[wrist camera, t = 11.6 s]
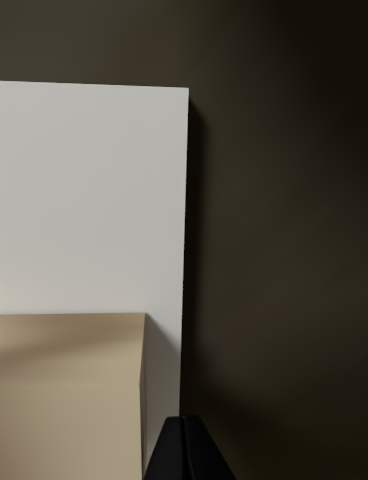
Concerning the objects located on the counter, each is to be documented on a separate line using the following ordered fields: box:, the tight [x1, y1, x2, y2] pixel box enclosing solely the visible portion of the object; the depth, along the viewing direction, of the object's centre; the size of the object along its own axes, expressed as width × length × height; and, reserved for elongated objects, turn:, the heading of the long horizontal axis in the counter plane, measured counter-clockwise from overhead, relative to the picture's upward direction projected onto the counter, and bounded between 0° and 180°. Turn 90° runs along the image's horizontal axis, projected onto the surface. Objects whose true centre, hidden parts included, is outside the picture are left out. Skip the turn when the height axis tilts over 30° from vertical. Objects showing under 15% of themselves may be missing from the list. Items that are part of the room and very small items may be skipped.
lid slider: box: [0, 313, 147, 480], centre depth 8 cm, size 6×5×3 cm
